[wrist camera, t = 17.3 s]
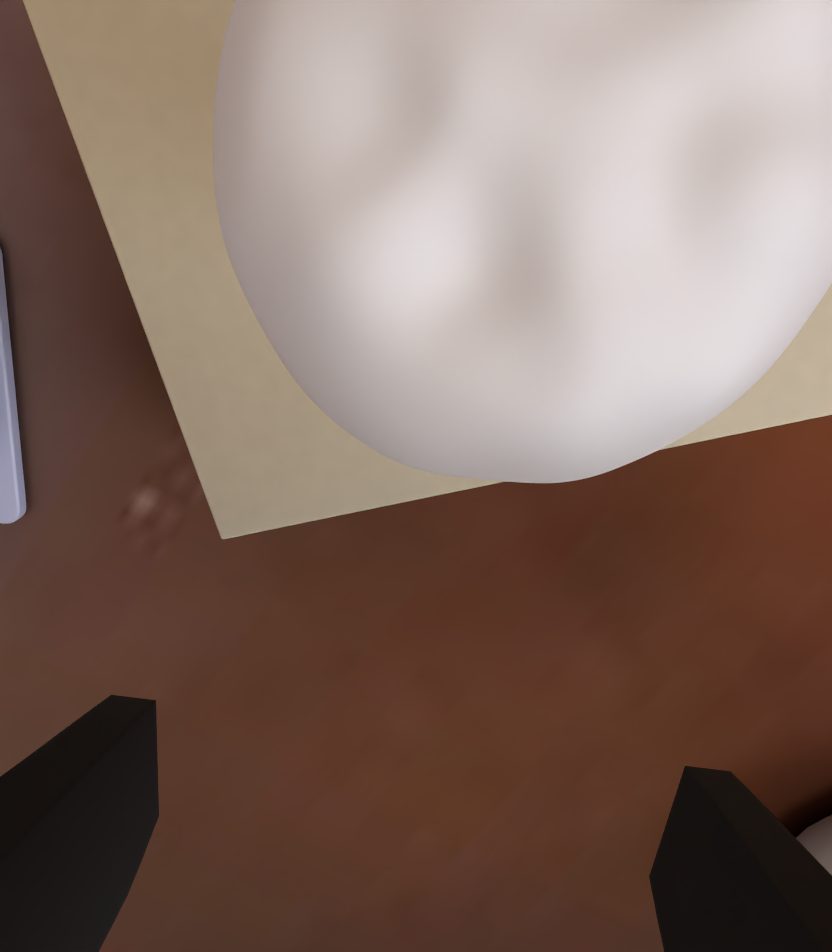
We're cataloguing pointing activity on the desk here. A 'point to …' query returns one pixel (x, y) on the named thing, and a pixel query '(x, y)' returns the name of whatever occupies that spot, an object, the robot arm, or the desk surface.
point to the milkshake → (526, 215)
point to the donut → (819, 841)
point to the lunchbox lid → (219, 292)
